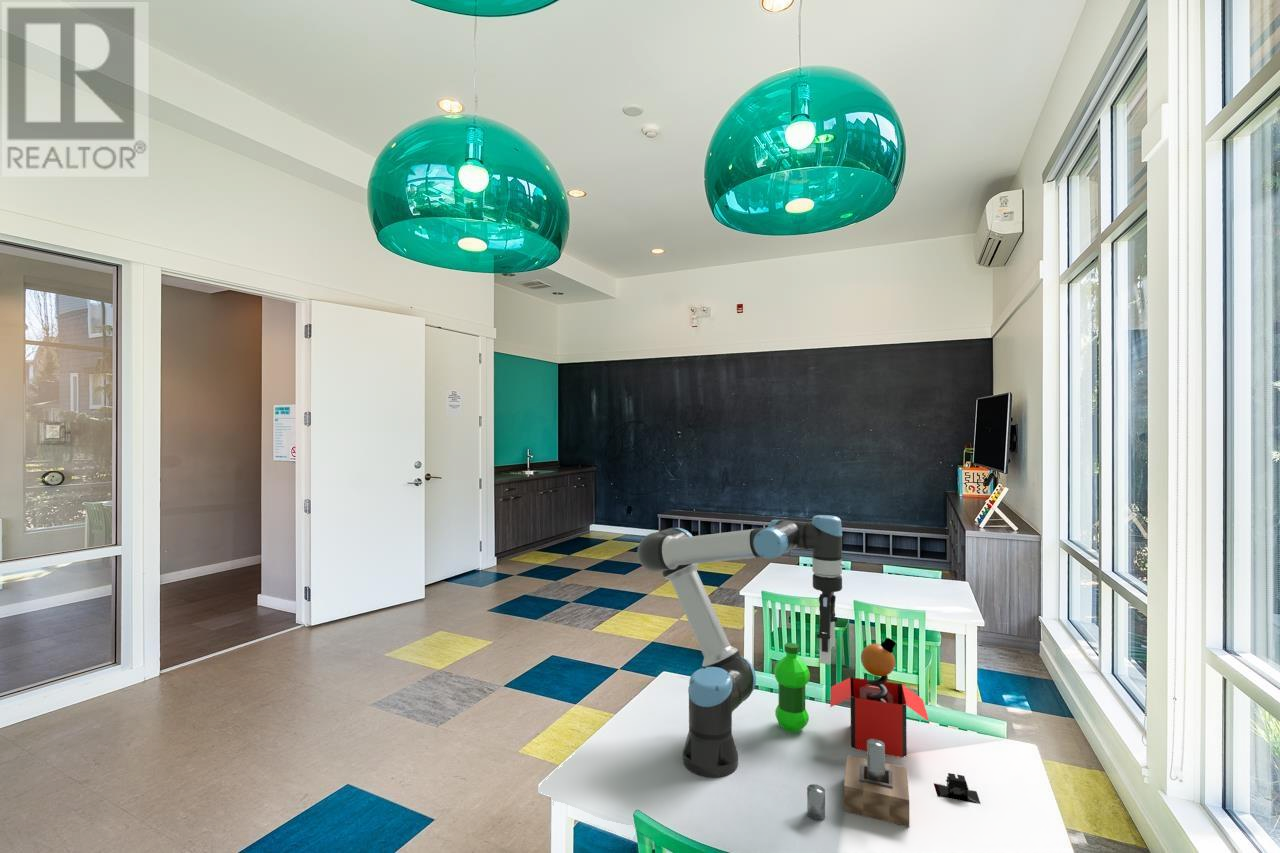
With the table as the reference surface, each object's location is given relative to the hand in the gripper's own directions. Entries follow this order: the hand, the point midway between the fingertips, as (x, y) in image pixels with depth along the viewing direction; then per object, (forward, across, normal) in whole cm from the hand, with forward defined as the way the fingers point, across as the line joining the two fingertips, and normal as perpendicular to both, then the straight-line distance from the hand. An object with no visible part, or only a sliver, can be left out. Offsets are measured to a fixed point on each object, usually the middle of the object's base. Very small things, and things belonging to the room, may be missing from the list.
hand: (827, 654), depth 154 cm
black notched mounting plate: (+31, +2, -30) cm, 44 cm away
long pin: (+31, -9, -12) cm, 34 cm away
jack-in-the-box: (+31, +22, -12) cm, 40 cm away
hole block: (+31, -9, -12) cm, 34 cm away
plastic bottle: (+31, +19, +12) cm, 38 cm away
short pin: (+31, -20, +1) cm, 37 cm away
